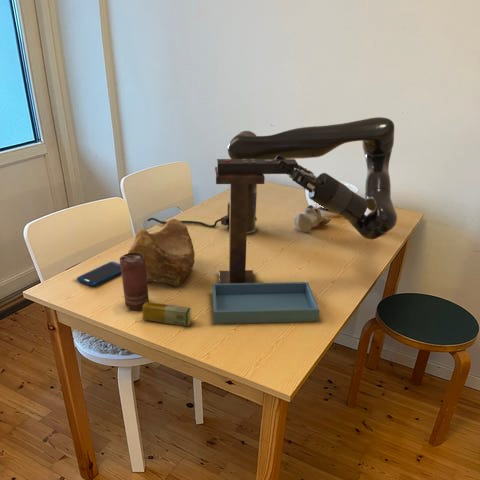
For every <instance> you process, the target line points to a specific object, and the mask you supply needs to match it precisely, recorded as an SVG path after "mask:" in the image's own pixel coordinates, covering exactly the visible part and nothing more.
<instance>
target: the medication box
mask: <svg viewBox="0 0 480 480" xmlns="http://www.w3.org/2000/svg"><path fill="white" fill-rule="evenodd" d="M142 307H143V309H142V320H145V321H151V322H158V323H163V324H164V323H165V324H171V325H178V326H185V327H189V326H190V325H191V314H192V313H191V311H192V310H191V309H192V308H191V307H187V306H186V307H185V306H179V305H171V304H164V303H156V302H150V301H149V302H145V303H144V304H143V306H142Z"/></svg>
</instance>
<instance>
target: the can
mask: <svg viewBox="0 0 480 480" xmlns="http://www.w3.org/2000/svg"><path fill="white" fill-rule="evenodd" d="M119 264H120V267H121V280H122V288H123V295H124V296H123V297H124V303H125V307H127V309H129V310H131V311H141V310H142V311H143V307H142V306H143V304H144V303H145V302H150V298H149V289H148V282H147V276H146V266H145V259H144V257H143V255H141V254H139V253H128V252H127V253H125V254H123V255H121V256H120V257H119Z"/></svg>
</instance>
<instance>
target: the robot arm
mask: <svg viewBox="0 0 480 480" xmlns="http://www.w3.org/2000/svg"><path fill="white" fill-rule="evenodd" d="M354 142H362V150H363V153H364V158H365V162H366V163H365V164H366V178H365V187H364V197H362V196H361V195H359V194H357V193H356V192H355V191H353V190H351V189H350V188H349V187H348V186H347V185H345V184H344V183H342V182H340V180H337V179H335V178H334V177H333V176H331V174H330V175H329V174H328V173H326V172H322V173H320V174H319V175H318V176H316V175H315V173H314V172H313V171H312V170H308V169H307V168H305V167H304V166H302V165H301V164H298V167H297V168H295V167H294V168H293V167H292V166H291V165H289V164H288V163H286V162H284V161H283V160H280V161H279V163H278V164H277V168H278V169H279V170H281V171H282V172H284V173H286V174H285V175H287V176H288V177H289V178H290V179H291V180H292V182H294V183H296V184H297V185H299V186H301V187H302V188H303V189H305V190H306V191H308V198H309V199H310V200H311V201H313V203H314V202H316V203H318V204H319V205H321V206H323V207H324V208H326V209H328V210H327V211H329V212H332V213H334V214H336V215H338V216H339V217H341V218H343V219H344V220H346V221H347V222H349V224H350V225H351V226H352V227H353V228H354V229H355V230H356V231H357V232H358V234H359V235H360V236H361V237H363V238H364V239H366V240H369V241H373V240H374V241H375V240H377V239H379V238H380V237H382V236H383V235H385V234H386V233H388V232H389V231H391V230H392V229H394V228H395V226H396V224H397V222H398V214H397V212H396V209H395V207H394V204H393V201H392V199H391V198H392V195H391V193H392V190H391V187H392V186H391V185H392V184H391V177H390V170H389V169H390V168H389V167H390V162H391V161H390V160H391V156H392V152H393V149H394V148H393V147H394V143H395V123H394V121H393V120H392V119H390V118H388V117H385V116H384V117H382V116H381V117H380V116H378V117H369V118H364V119H360V120H359V119H358V120H354V121H349V122H344V123H335V124H328V125H314V126H304V127H296V128H291V129H288V130H285V131H281V132H277V133H274V134H270V135H257V134H255V132H253V131H250V130H242V131H240V132H238V133H237V134H236V135H235V136H233V138H232V139H230V141H229V142H228V146H227V155H228V157H229V159H295V160H298V159H299V160H301V159H314V158H320V157H323V156H325V155H327V154H328V153H330V152H332V151H333V150H335V149H336V148H338V147H340V146H343V145H344V144H347V143H354ZM257 196H258V184H248V206H247V235H249V234H252V233H255V232H256V230H257V229H256V228H257V226H256V222H257V221H258V219H257V218H258V217H257V201H258V200H257V198H258V197H257ZM367 208H368V209H369V210H371V211H372V212H371V213H369V214H368V215H364V214H365V212H366V210H367ZM229 212H230V201H229V202H228V203H227V214H226V215H224V216H222V217H220V218H219V219H217V220H215V222H214V224H207V223H204V222H202V221H196V220H180V221H181V222H182V223H183V224H197V225H201V226H203V227H207V228H215V227H216V226H217V224H218V223H219V222H220V225H222V226H226V227H227V230H229ZM150 221H155V222H157V223H160V224H166V222H167V221H168V220H165V221H163V220H159V219H157V218H155V217H150V218H148V219H147V220H146V222H150Z"/></svg>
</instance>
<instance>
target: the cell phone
mask: <svg viewBox="0 0 480 480" xmlns="http://www.w3.org/2000/svg"><path fill="white" fill-rule="evenodd" d="M120 275H122V273H121V267H120V263H118V262H116V261H109V262H107V263H105V264H103V265H101V266H99V267H96V268H93V269H92V270H90V271H88V272H86V273H83V274H82V275H79V276H78V277H77V278H76V280H77V281H78V282H80V283H83V284H84V285H87V286H88V287H89V286H90V287H92V288H96V287H97V286H99V285H101V284H104V283H105V282H108V281H109V280H111V279H114V278H115V277H117V276H120Z"/></svg>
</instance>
